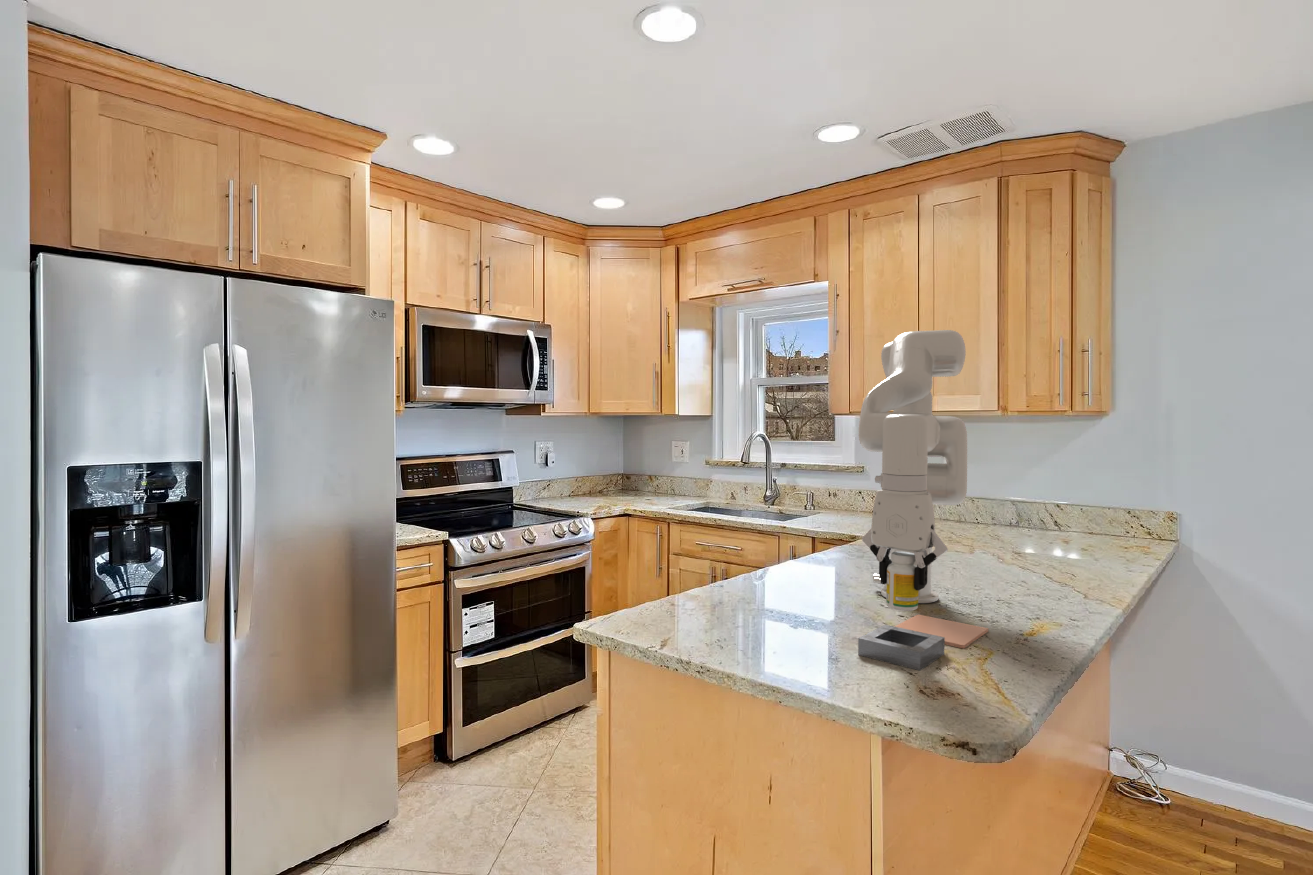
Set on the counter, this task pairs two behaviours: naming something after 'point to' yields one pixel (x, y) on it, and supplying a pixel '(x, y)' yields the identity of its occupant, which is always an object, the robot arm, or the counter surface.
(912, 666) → the collar
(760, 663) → the counter surface
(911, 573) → the supplement bottle
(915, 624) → the tile
